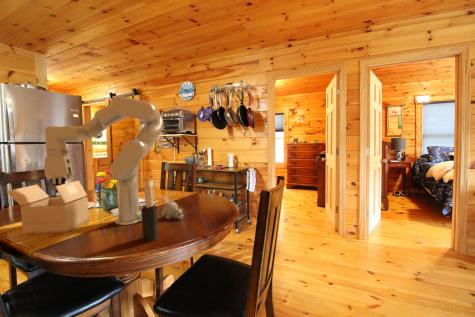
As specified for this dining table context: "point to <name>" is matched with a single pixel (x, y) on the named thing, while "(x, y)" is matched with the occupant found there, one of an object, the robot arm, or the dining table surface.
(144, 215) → the candle
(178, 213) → the chubby cartoon animal
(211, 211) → the dining table surface
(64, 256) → the dining table surface
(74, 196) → the flap
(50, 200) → the carton
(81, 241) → the dining table surface
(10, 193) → the flap
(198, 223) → the dining table surface
